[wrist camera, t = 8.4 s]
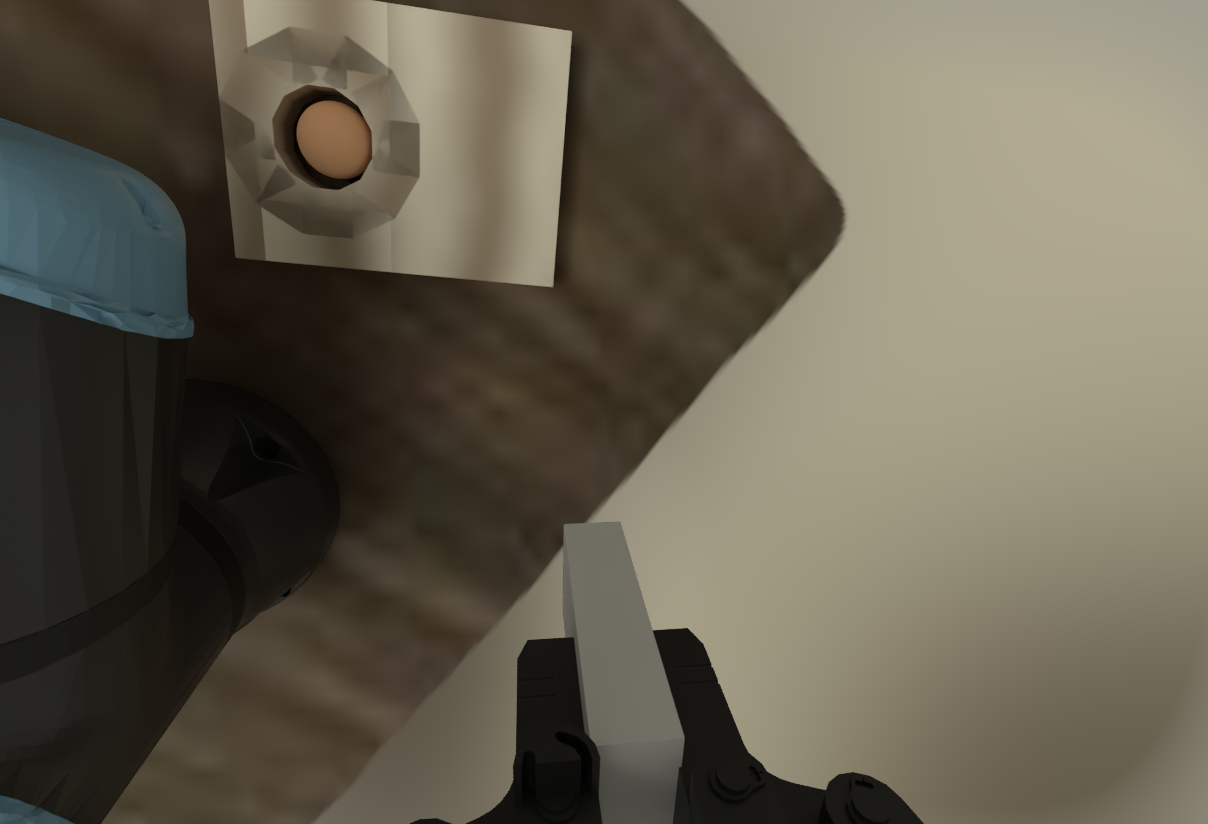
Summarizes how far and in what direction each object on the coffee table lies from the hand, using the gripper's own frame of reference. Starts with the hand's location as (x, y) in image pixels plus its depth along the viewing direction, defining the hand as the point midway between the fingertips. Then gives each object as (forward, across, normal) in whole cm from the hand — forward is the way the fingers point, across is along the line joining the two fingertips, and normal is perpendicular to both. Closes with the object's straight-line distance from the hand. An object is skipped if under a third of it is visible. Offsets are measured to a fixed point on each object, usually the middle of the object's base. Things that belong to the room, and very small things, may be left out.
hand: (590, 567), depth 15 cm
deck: (+21, -8, +11) cm, 25 cm away
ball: (+20, -11, +12) cm, 25 cm away
